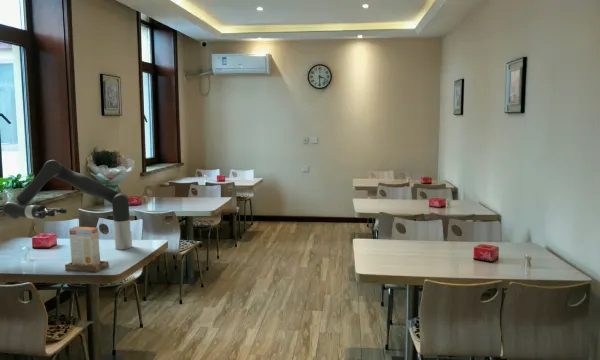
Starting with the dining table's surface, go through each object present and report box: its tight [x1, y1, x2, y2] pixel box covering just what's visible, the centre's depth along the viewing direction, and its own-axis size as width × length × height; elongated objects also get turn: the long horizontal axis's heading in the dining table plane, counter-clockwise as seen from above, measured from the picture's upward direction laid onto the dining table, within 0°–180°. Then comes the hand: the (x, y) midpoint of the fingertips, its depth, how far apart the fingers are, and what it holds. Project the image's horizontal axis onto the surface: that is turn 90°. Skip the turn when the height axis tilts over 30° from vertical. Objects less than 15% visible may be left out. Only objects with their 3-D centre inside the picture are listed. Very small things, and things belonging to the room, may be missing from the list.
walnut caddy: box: [64, 260, 109, 274], centre depth 265 cm, size 11×19×3 cm, turn 73°
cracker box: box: [68, 226, 101, 267], centre depth 264 cm, size 14×6×21 cm, turn 71°
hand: (60, 212), depth 274 cm, fingers open, 8 cm apart
